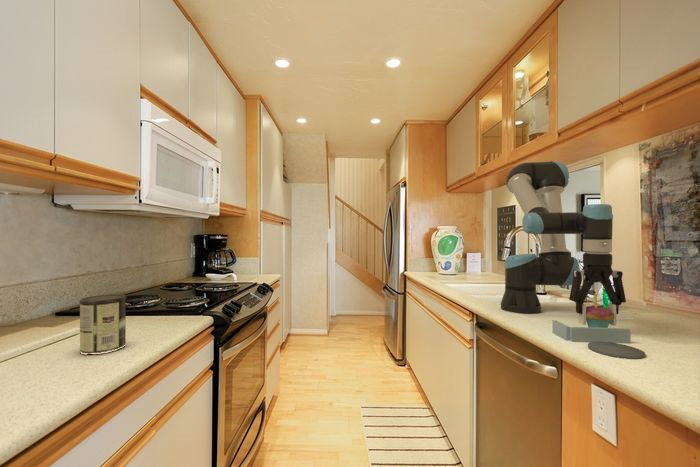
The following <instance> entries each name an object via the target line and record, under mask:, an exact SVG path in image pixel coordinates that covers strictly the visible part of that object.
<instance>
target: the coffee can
mask: <svg viewBox="0 0 700 467" xmlns="http://www.w3.org/2000/svg"><path fill="white" fill-rule="evenodd" d="M126 300H127V294H126V295H125V294H120V293H119V294H118V293H117V294H116V293H115V294H114V293H113V294H111V293H110V294H100V295H93V296H88V297H87V296H86V297H83V298H80V299H79V353H80V352H82V353H88V354H91V353H101V352H107V351H112V350H115V349H118V348H120V347H123V346H124V345H125V344H126V340H127V339H126V331H127V330H126V329H127V328H126V327H127V326H126V325H127V324H126V322H127V321H126V316H127V315H126V312H127V311H126V309H127V308H126V307H127V306H126V302H127V301H126ZM126 345H127V344H126Z"/></svg>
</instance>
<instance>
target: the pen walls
mask: <svg viewBox="0 0 700 467" xmlns="http://www.w3.org/2000/svg"><path fill="white" fill-rule="evenodd" d="M551 323H552V324H551V325H552V333H553V334H554V335H556V336H558V337H560V338H561V339H563V340H565V341H570V342H574V343H576V342H577V343H578V342H579V343H591V342H610V343H617V344H631V342H632V341H631V339H632V338H631V337H632V336H631V329H630V328H628V327H627V328H626V327H608V328H596V327H587V326H568V324H565V323H562V322H560V321H558V320H556V319H554V320H552V322H551Z"/></svg>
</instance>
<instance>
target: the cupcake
mask: <svg viewBox="0 0 700 467" xmlns="http://www.w3.org/2000/svg"><path fill="white" fill-rule="evenodd" d="M597 295H598V294H597V293H596V291H594V293H593V296H594V299H593V300H594V305H586V325H587V326H588V327H596V328H609V326H610V324H609V323H610V322H611V321H612V320H613V319H614V314H613V313H612V311H611V310H608V308H606V307H603V306H600V305H598V296H597Z"/></svg>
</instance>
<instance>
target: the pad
mask: <svg viewBox="0 0 700 467" xmlns="http://www.w3.org/2000/svg"><path fill="white" fill-rule="evenodd" d="M587 349H589V350H590V351H592V352H594V353H597V354H600V355H604V356H607V355H608V357H612V358H617V357H619V358H618V359H624V358H626V359H625V360H641V359H644V358H646V352H645V351H644V350H641V349H640V348H636V347H633V346H630V345H626V344H624V343H610V342H588V343H587Z"/></svg>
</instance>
